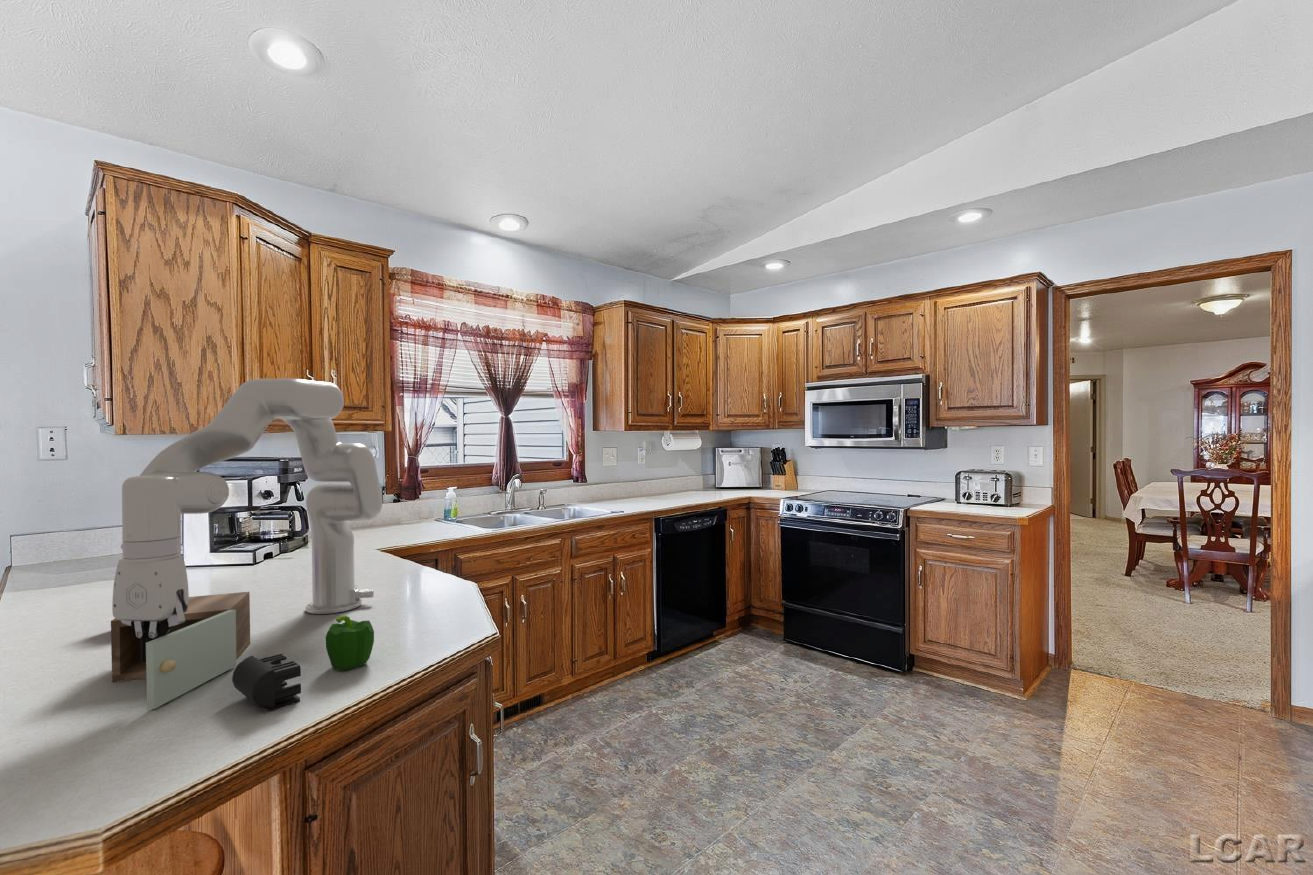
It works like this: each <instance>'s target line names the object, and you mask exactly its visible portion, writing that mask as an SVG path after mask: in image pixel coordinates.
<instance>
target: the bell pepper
mask: <svg viewBox="0 0 1313 875" xmlns="http://www.w3.org/2000/svg"><path fill="white" fill-rule="evenodd" d="M335 620H336V622H337V623H332V624H331V625H330V627H329V628H328V630H327V633H326V635H325V649H326V651H327V652H326V653H327V656H328V660H329V661H330V662H329V663H330V665H331V667H332V669H333V670H337V671H348V670H351V669H354V668H355V667H359V666H361V667H362V666H364V665H366V664H367V663H368V661H369V660H370V658H371V655H372V651H373V646H374V643H375V630H374V627H373V625H372V623H371V621H370V620H361V621H357V620H353V619H351V617H350V616H348V615H340V616H338V617H337V618H336V619H335Z"/></svg>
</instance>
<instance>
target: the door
mask: <svg viewBox="0 0 1313 875" xmlns="http://www.w3.org/2000/svg"><path fill="white" fill-rule="evenodd" d="M237 660H238V659H237ZM237 660H236V610H228V611H225V612H223V613H220V614H218V615H215V616H213V617H210V618H207V619H205V620H202V621H200V622H197V623H195V624H192V625H190V626H187V627H185V628H182V629H180V630H177V631H175V632H172V633H169V634H167V635H164V636H162V637H159V638H157V639H154V640H152V641H149V642H147V643H146V677H147V678H146V709H147V710H155V709H158V708H159V707H160V706H163V705H164V704H166V703H169V702H171V701H172V700H174V699H176V698H178V697H179V696H182V695H183V694H186V693H187V692H189V691H191V690H194V689H195V688H197V687H199V686H200V685H202V684H204V683H205V684H206V682H208V681H210V680H212V679H214V678H216V677H217V676H219V675H221V674H223V673H225V672H227V671H229V670H232V668H236V667H237V666H238V662H237Z"/></svg>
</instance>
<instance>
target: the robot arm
mask: <svg viewBox="0 0 1313 875" xmlns="http://www.w3.org/2000/svg"><path fill="white" fill-rule="evenodd" d="M344 399H345V398H344V395H343V392H342V390H341V389H340V388H339V387H338V385H336V384H335V383H332V382H329V381H328V382H327V381H320V380H318V381H316V380H309V379H302V378H291V377H290V378H282V377H281V378H253V379H250V380H247V381H245V382H244V383H242V384H240V385H239V387H238V388H237V389H236V390H235V392H234V393H233V394H231V396H230V398H229V399H228V400H227V401H226V403H225V404H224V405H223V407H222V408H221V409H220V410H219V411H218V413H217V414H216V415H215V416H214V417H213V418H212V420H211V421H210V422H209V424H207V425H206V426H203V427H202V428H200V429H198V430H196V431H194V432H192V433H190V434H188V435H187V436H184V437H183V438H180V439H179V440H177V441H175V442H173V443H172V444H170V445H168V446H167V447H165V448H164V449H162V450H161V451H160V452H158V454H157V455H156V456H155V457H154V458H153V459H152V460H151V461H150V462H149V464H148V465H146V467H145V468H144V469H143V471H142V472H141V473H140V474H139V475H138V476H137V475H136V476H131V477H127V478H126V479H124V481H123V482H122V486H121V505H122V506H121V507H122V508H121V518H122V521H121V522H122V528H121V529H122V530H121V531H122V533H121V534H122V537H121V538H122V540H121V542H122V543H121V544H120V548H121V550H122V558H121V559H118V562H117V565H116V569H115V574H114V580H113V586H112V587H113V588H112V589H113V590H112V602H111V604H112V606H111V607H112V608H111V611H112V616H113V617H114V618H113V619H115V618H116V619H118V620H121V622H122V623H123V624H127V625H130V626H132V627H133V628H134V629H135V632H136V636H137V637H138V638H140V661H141V662H146V643H147V642H149V641H152V640H154V639H157V638H159V637H162V636H164V635H166V633H169V632H170V628H171V627H172V626H174V625H178V624H181V623H184V622H185V617H184V613H185V612H186V611H187V609H188V604H189V597H190V594H189V591H190V590H189V581H188V573H187V567H186V562H185V559H184V555H182V542H181V540H182V538H181V536H182V535H181V534H182V532H181V531H182V530H181V529H182V528H181V524H182V518H181V516H182V515H185V514H186V515H188V514H189V515H194V514H195V515H198V514H200V515H201V514H207V513H212V512H215V511H217V510H218V509H220V508H221V507H222V506H224V505H225V503H226V502H227V500H228V499H229V494H230V488H229V485H228V483H227V481H226V480H225V478H224V477H222V476H220V475H219V474H216V473H213V472H210V471H207V472H206V471H199V470H201V469H204V468H205V467H208V466H211V465H214V464H217V463H220V462H224V461H227V460H231V459H233V458H236V457H239V456H242V455H244V454H246V453H249V452H250V451H251V450H252V449H253V448H254V447H255V446H256V444H257V442H258V441H259V440H260V438H261V436H262V435H263V434H264V433H265V431H266V430H267V428H268V427H269V426H270V425H271V423H272V421H274V420H277V419H280V420H281V421H283V422H285V423H286V424H287V425H288V426H289V427H290V429H292V430H293V433H294V435H295V438H296V441H297V445H298V449H299V454H300V457H301V461H302V465H303V468H304V472H305V474H306V476H307V477H308V478H309V479H310V480H311V481H314V482H324V483H321V484H318V485H316V486H313V487H312V488H311V489H310V490H309V492H308V493H307V495H306V499H305V505H306V511H307V514H308V518H309V525H310V532H311V535H310V536H311V577H312V578H311V581H312V582H311V584H312V588H311V589H312V601H311V602H310V603H307V604H306V605H305V612H307V613H309V614H313V615H330V614H336V613H343V612H347V611H350V610H353V609H356V608H359V607H360V606H361V605H362V599H365V598H366V599H367V598H368V599H369V598H374V596H375V592H374V589H370V588H367V589H366V588H365V589H360V588H358V585H357V584H355V537H354V533H353V530H352V528H351V527H350V525H349V524H348V523H347V522H349V521H351V522H352V521H354V522H357V521H360V522H361V521H371V520H374V519H375V518H377V517H378V516H379V515H380V513H381V511H382V508H383V496H382V495H383V494H382V490H381V485H380V480H379V475H378V470H377V466H376V462H375V457H374V454H373V453H372V450H370V448H369V447H368V446H366V445H365V444H362V443H356V442H349V443H348V442H345V443H344V442H341V441H340V440H339V439H338V435H337V433H336V432H337V431H336V428H335V424H334V422H333V420H332V419H335V418H336V417H338V416H339V415H340V414H341V413H342V411H343V410H344V409H343V408H344V406H345V400H344ZM325 482H327V483H325Z"/></svg>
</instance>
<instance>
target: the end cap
mask: <svg viewBox="0 0 1313 875" xmlns="http://www.w3.org/2000/svg"><path fill="white" fill-rule="evenodd" d="M286 660H288V657H287V656H286V655H284V654H283V653H278V654H274V655H270V656H267V657H261V658H260V659H259V658H258V657H257V656H254V655H251V656H248V657H246V658H244V659H242V661H241V662H240V663H237V666H235V667H234V668H235V669H234V670H233V672H232V677H231V680H232V684H233V687H234V688H235V689H236V690H237V691H238V692H240V693H241V694H242V695H244V697H246V698H247V699H248V700H250V701H251V702H252V703H253V704H255V706H257V707H259V708H262V709H263V710H266V711H268V712H272V711H276V710H279V709H282V708H285V707H290V706H291V705H295V704H298V703H300V702H301V697H300V695H299V694H301V693H302V683H301V682H299V683H296V684H293V685H288V682H287V681H288V680H292V679H294V678H295V679H296V678H298V677H301V676H302V672H301V671H302V669H301V668H302V667H301V664H299V663H298V662H296V661H295V660H292V661H288V662H284V663H282V661H286ZM298 695H299V696H298Z"/></svg>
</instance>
